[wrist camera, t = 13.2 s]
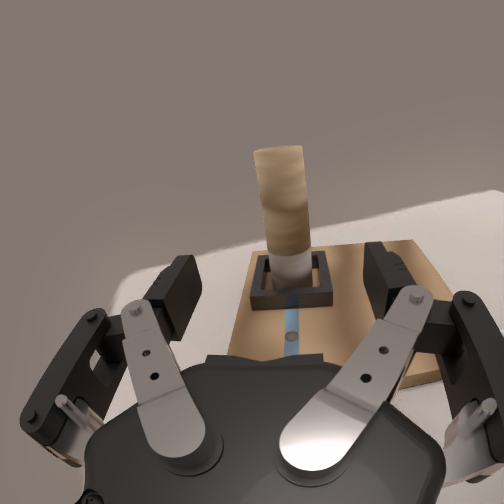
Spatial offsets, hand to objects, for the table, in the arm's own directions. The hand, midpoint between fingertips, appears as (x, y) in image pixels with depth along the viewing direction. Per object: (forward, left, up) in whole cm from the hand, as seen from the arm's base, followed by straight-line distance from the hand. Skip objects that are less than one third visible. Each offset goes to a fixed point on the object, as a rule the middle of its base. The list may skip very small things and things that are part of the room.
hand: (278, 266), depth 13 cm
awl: (0, -10, -8) cm, 13 cm away
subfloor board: (-5, -8, -10) cm, 13 cm away
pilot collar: (0, -10, -8) cm, 13 cm away
